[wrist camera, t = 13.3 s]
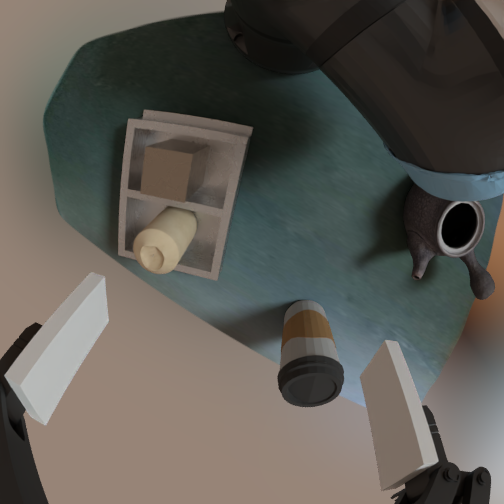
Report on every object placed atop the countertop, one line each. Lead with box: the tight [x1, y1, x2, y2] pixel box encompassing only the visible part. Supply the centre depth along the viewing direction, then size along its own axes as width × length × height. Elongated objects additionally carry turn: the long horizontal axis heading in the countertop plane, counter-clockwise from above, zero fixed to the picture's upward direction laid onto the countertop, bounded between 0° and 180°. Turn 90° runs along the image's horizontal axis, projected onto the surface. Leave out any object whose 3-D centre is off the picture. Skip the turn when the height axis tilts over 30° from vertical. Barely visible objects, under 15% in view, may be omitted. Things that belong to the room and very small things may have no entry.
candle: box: [133, 206, 197, 274], centre depth 34 cm, size 6×6×10 cm
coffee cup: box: [278, 300, 344, 407], centre depth 38 cm, size 8×8×15 cm
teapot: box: [403, 183, 495, 300], centre depth 32 cm, size 19×15×10 cm
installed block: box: [140, 139, 210, 203], centre depth 31 cm, size 5×5×8 cm
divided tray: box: [118, 110, 253, 281], centre depth 35 cm, size 20×14×5 cm
